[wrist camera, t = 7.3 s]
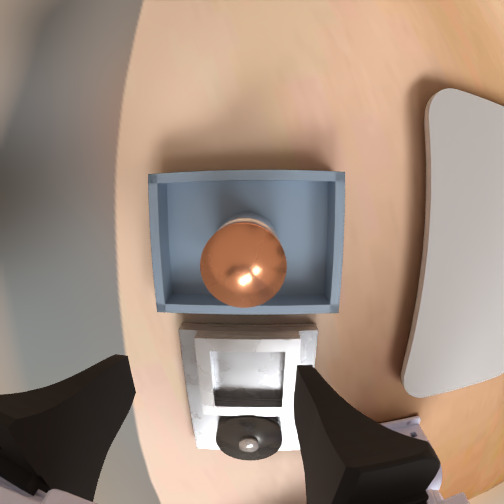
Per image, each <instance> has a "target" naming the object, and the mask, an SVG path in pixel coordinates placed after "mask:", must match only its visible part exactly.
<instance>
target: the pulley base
mask: <svg viewBox="0 0 504 504" xmlns="http://www.w3.org/2000/svg"><path fill="white" fill-rule="evenodd" d="M179 336H180V344H181V352H182V360H183V367H184V374H185V381H186V388H187V394H188V401H189V407H190V413H191V418H192V424H193V430H194V435H195V440H196V445H197V448H204V449H218V450H221V451H223V452H224V453H225V454H227V455H229V456H231V457H233V458H237V459H241V460H259V459H264V458H267V457H269V456H271V455H273V454H274V453H276V452H277V451H281V450H300V445H299V441H298V436H297V431H296V427H295V421H294V408H293V399H294V389H295V379H296V368H297V365H312V366H313V367H315V358H316V348H317V337H318V329H317V326H316V324H315V323H310V324H206V323H182V325H181V326H180V328H179Z"/></svg>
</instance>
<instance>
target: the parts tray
mask: <svg viewBox="0 0 504 504" xmlns="http://www.w3.org/2000/svg"><path fill="white" fill-rule="evenodd" d="M148 189H149V218H150V237H151V251H152V264H153V276H154V286H155V295H156V304H157V312H169V313H196V314H319V313H338V311H339V300H340V288H341V275H342V260H343V241H344V213H345V172H336V171H310V170H219V171H194V172H175V173H160V174H148ZM243 212H252V213H257V214H259V215H261V216H263V217H265V218H266V219H267V220H269V221H270V223H271V224H272V225H273V227H274V229H275V231H276V233H277V235H278V238H279V240H280V243H281V245H282V248H283V250H284V253H285V256H286V261H287V271H286V277H285V280H284V282H283V285H282V286H281V288H280V290H279V291H278V292H277V293H276V294H275V295H274V297H272V298H271V299H270V300H268V301H267V302H265V303H263V304H261V305H258V306H255V307H249V308H239V307H233V306H230V305H227V304H225V303H223V302H221V301H220V300H218V299H217V298H215V297H214V296H213V295H212V294H211V293H210V292H209V290H208V289H207V287H206V286H205V284H204V282H203V279H202V276H201V271H200V260H201V255H202V251H203V249H204V247H205V245H206V243H207V242H208V240H209V239H210V238H211V237H212V236H213V235H214V234H215V233H216V231H217V230H218V229H219V228H220V227H221V226H222V225H223V224H224V223H225V222H226V221H227V220H228V219H229V218H230V217H232V216H234V215H236V214H239V213H243Z"/></svg>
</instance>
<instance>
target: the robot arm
mask: <svg viewBox="0 0 504 504" xmlns="http://www.w3.org/2000/svg"><path fill="white" fill-rule="evenodd" d="M135 393H136V391H135V387H134V383H133V378H132V374H131V369H130V365H129V360H128V356H124V355H113V356H111V357H109V358H107V359H105V360H103V361H101V362H99V363H97V364H95V365H93V366H91V367H90V368H88V369H86V370H84V371H82V372H80V373H78V374H76V375H74V376H72V377H69V378H67V379H65V380H63V381H60V382H58V383H55V384H52V385H50V386H47V387H43V388H40V389H36V390H31V391H27V392H22V393H14V394H4V395H0V504H97V503H94V502H93V499H94V494H95V490H96V486H97V482H98V479H99V476H100V472H101V469H102V466H103V463H104V460H105V457H106V455H107V452H108V450H109V448H110V446H111V444H112V442H113V440H114V438H115V436H116V434H117V432H118V431H119V429H120V427H121V425H122V423H123V422H124V420H125V418H126V416H127V414H128V412H129V410H130V407H131V405H132V402H133V399H134V396H135ZM293 408H294V421H295V427H296V431H297V436H298V441H299V445H300V450H301V455H302V459H303V465H304V471H305V483H306V498H307V504H470V503H469V501H468V499H467V497H466V496H465V494H464V492H461V493H459V494H456V495H454V496H452V497H449V498H447V499H444V498H443V497H442V495H441V493H440V492H439V491H438V490H439V488H440V486H441V482H442V468H441V464H440V461H439V458H438V456H437V455H436V453H435V451H434V449H433V448H432V446H431V444H430V442H429V441H428V439H427V437H426V436H425V434H424V432H423V430H422V429H421V427H420V425H419V422H420V420H421V418H420V417H419V416H414V417H410V418H405V419H400V420H395V421H390V422H385V423H377V422H375V421H373V420H371V419H370V418H368V417H367V416H365V415H364V414H362V413H361V412H359V411H358V410H356V409H355V408H354V407H352V406H351V405H350V404H348V403H347V402H346V401H345V400H344V399H343V398H342V397H341V396H340V395H339V394H337V393H336V391H335V390H334V389H333V388H332V387H331V386H330V385H329V384H328V383H327V382H326V381H325V380H324V379H323V377H322V376H321V375H320V374H319V373H318V372H317V370H316V369H315V368H314V367H313V366H312V365H297V368H296V379H295V389H294V399H293Z"/></svg>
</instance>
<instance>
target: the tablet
mask: <svg viewBox="0 0 504 504" xmlns="http://www.w3.org/2000/svg"><path fill="white" fill-rule="evenodd" d="M424 118H425V119H424V132H425V152H426V204H425V225H424V239H423V250H422V260H421V268H420V276H419V284H418V291H417V297H416V303H415V309H414V315H413V320H412V325H411V330H410V335H409V340H408V344H407V349H406V353H405V357H404V361H403V367H402V372H401V382H402V385H403V387H404V389H405V390H406V391H407V393H408V394H409V395H411V396H413V397H417V398H423V397H428V396H433V395H437V394H441V393H445V392H449V391H452V390H456V389H460V388H463V387H467V386H470V385H473V384H477V383H480V382H483V381H486V380H489V379H492V378H495V377H497V376H499V375H501V374H502V373H504V106H502V105H499V104H497V103H494V102H492V101H489V100H487V99H484V98H481V97H478V96H476V95H473V94H470V93H467V92H464V91H461V90H458V89H453V88H447V89H443V90H441V91H439V92H437V93H435V94H434V95H433V96H432V97H431V98H430V99H429V101H428V103H427V106H426V109H425V116H424Z"/></svg>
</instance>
